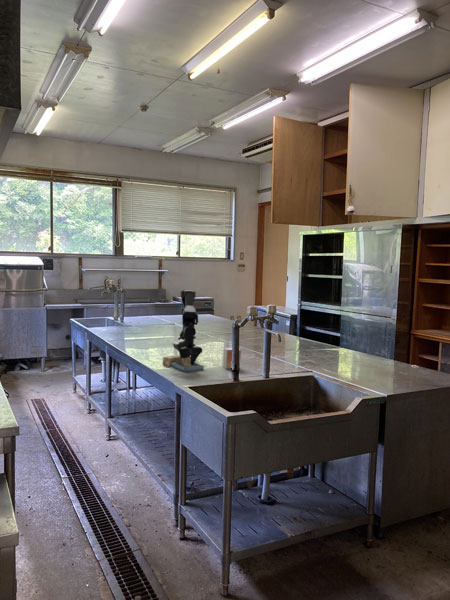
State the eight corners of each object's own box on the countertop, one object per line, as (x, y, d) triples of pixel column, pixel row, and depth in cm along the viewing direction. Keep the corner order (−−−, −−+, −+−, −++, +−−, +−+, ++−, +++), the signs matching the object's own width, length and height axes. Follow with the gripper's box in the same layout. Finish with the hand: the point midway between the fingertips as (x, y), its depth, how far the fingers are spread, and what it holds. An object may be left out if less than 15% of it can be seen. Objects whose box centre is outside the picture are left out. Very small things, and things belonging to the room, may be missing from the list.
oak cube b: (171, 363, 256) (171, 355, 256) (178, 363, 259) (179, 355, 258) (174, 365, 253) (175, 357, 252) (182, 365, 255) (182, 356, 255)
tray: (170, 366, 250) (171, 362, 249) (189, 364, 257) (189, 360, 256) (184, 372, 239) (184, 367, 239) (203, 369, 246) (203, 365, 246)
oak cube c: (162, 365, 252) (163, 356, 252) (168, 363, 256) (168, 355, 255) (168, 366, 249) (169, 358, 249) (174, 365, 253) (174, 357, 252)
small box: (225, 369, 251) (226, 349, 250) (223, 366, 256) (224, 347, 255) (240, 368, 253) (241, 349, 252) (237, 366, 258) (238, 347, 258)
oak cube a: (181, 366, 248) (181, 358, 248) (188, 365, 251) (188, 357, 251) (185, 368, 245) (186, 359, 244) (193, 367, 247) (193, 359, 247)
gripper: (166, 332, 249) (165, 361, 250) (185, 338, 234) (183, 368, 235) (184, 331, 255) (182, 359, 257) (203, 336, 241) (202, 366, 242)
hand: (187, 363), depth 248 cm, fingers open, 9 cm apart
